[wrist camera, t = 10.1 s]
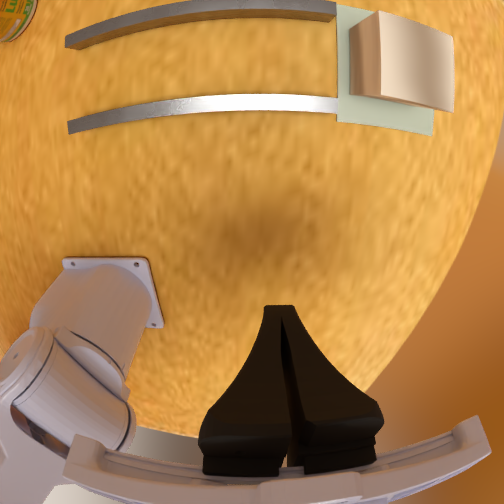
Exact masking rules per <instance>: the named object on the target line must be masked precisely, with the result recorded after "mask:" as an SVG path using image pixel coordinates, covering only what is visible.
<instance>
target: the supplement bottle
mask: <svg viewBox="0 0 504 504" xmlns="http://www.w3.org/2000/svg"><path fill="white" fill-rule="evenodd" d="M36 4H37V0H0V42H9V41H12V40H13V39H15V38H16V37H18V36H19V35H20V34H21V33H22V32H23V30H24V29H25V28H26V27H27V25H28V24H29V22H30V20H31V18H32V16H33V14H34V12H35V9H36Z"/></svg>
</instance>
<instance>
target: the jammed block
mask: <svg viewBox="0 0 504 504" xmlns="http://www.w3.org/2000/svg"><path fill="white" fill-rule="evenodd" d="M349 34H350V95H355V96H362V97H368V98H374V99H380V100H386V101H391V102H396V103H400V104H405V105H409V106H415V107H422V108H428V109H434V110H440V111H446V112H451V113H453V111H454V49H453V37H452V36H450V35H448V34H446V33H443V32H441V31H439V30H436V29H434V28H431V27H429V26H426V25H423V24H421V23H418V22H415V21H412V20H409V19H406V18H403V17H400V16H397V15H394V14H390V13H387V12H383V11H379V10H378V11H376V12H375V13H373V14H372V15H370V16H368V17H367V18H365V19H364V20H362V21H360V22H359V23H357V24H356V25H354V26H353V27H351V28H350V29H349Z"/></svg>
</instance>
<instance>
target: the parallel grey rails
mask: <svg viewBox="0 0 504 504" xmlns="http://www.w3.org/2000/svg"><path fill="white" fill-rule="evenodd" d="M336 15H337V7H336V2H332V1H325V0H191V1H184V2H178V3H172V4H166V5H161V6H157V7H152V8H148V9H143V10H139V11H136V12H132V13H128V14H125V15H121V16H118V17H115V18H111V19H108V20H105V21H102V22H100V23H97V24H94V25H91V26H89V27H86V28H83V29H81V30H78V31H76V32H74V33H71V34H69V35H67V36H65V48H70V49H77V50H80V49H83V48H86V47H89V46H91V45H94V44H97V43H100V42H103V41H106V40H110V39H113V38H116V37H120V36H123V35H127V34H131V33H135V32H139V31H143V30H148V29H152V28H157V27H162V26H168V25H174V24H180V23H187V22H194V21H203V20H213V19H226V18H290V19H304V20H314V21H322V22H330V21H331V20H332V19H333V18H334V17H335V16H336ZM233 110H290V111H310V112H324V113H336V114H338V98H331V97H320V96H307V95H286V94H235V95H215V96H202V97H191V98H181V99H173V100H165V101H158V102H151V103H145V104H139V105H134V106H128V107H123V108H118V109H114V110H109V111H105V112H101V113H96V114H92V115H88V116H85V117H81V118H77V119H74V120H70V121H67V123H68V132H69V134H73V133H77V132H81V131H85V130H89V129H93V128H98V127H102V126H107V125H112V124H117V123H122V122H128V121H134V120H140V119H146V118H153V117H161V116H169V115H177V114H187V113H199V112H213V111H233Z"/></svg>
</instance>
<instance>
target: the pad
mask: <svg viewBox="0 0 504 504" xmlns="http://www.w3.org/2000/svg"><path fill="white" fill-rule="evenodd" d="M336 7H337V15H336V31H337V98H338V114H337V118H336V121H337V122H347V123H356V124H365V125H372V126H379V127H386V128H392V129H398V130H404V131H409V132H414V133H419V134H424V135H429V136H432V132H433V120H434V109H428V108H422V107H415V106H409V105H405V104H400V103H396V102H391V101H386V100H380V99H374V98H368V97H362V96H355V95H350V34H349V29H350V28H351V27H353V26H354V25H356V24H357V23H359V22H360V21H362V20H364V19H365V18H367V17H368V16H370V15H372V14H373V13H375V12H372V11H368V10H364V9H359V8H354V7H349V6H344V5H338V4H336Z"/></svg>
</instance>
